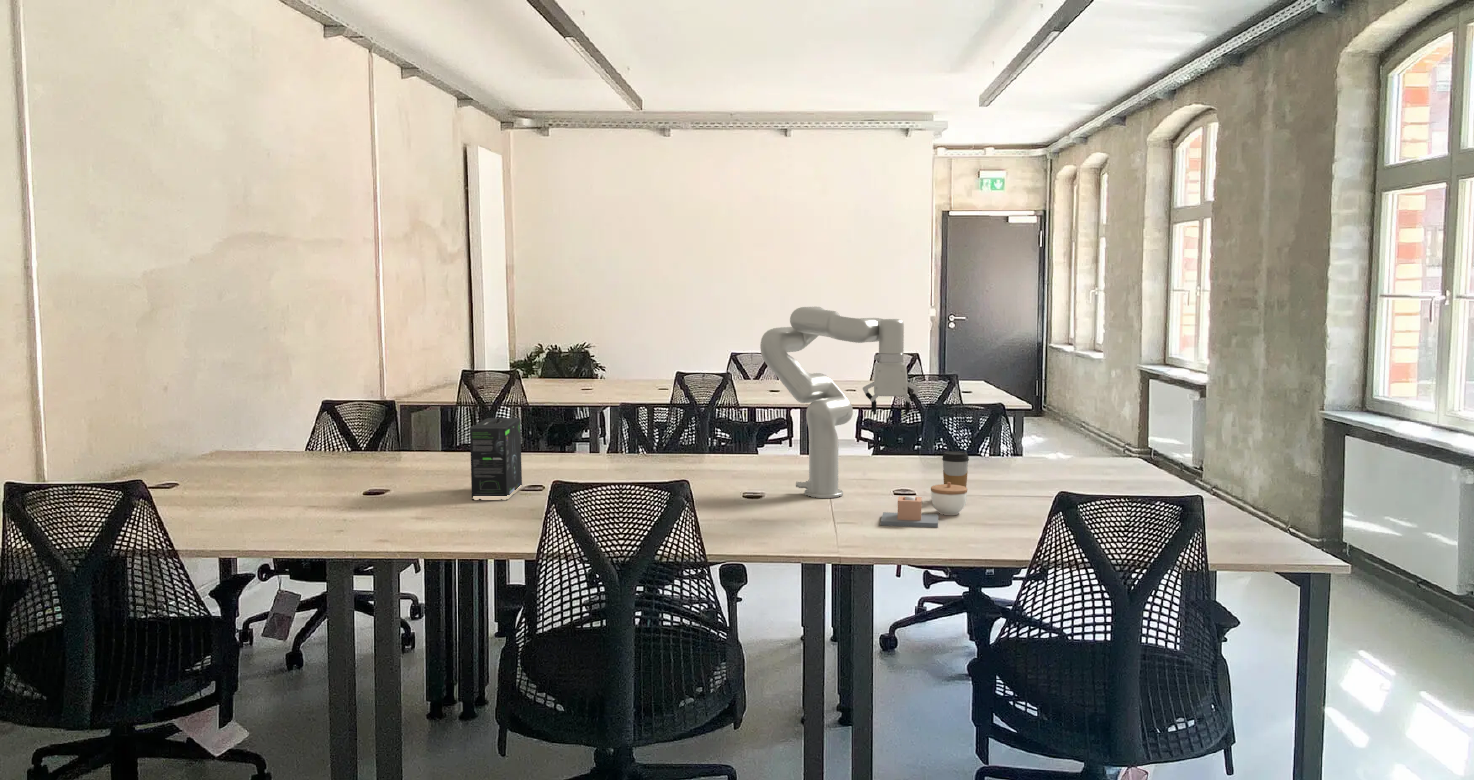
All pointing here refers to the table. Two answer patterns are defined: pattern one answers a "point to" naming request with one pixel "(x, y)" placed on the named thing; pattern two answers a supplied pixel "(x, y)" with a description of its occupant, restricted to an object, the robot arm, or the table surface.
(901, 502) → the collar
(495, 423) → the headset box
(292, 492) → the table surface
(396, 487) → the table surface
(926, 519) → the board
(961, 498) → the lidded jar
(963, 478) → the coffee cup
